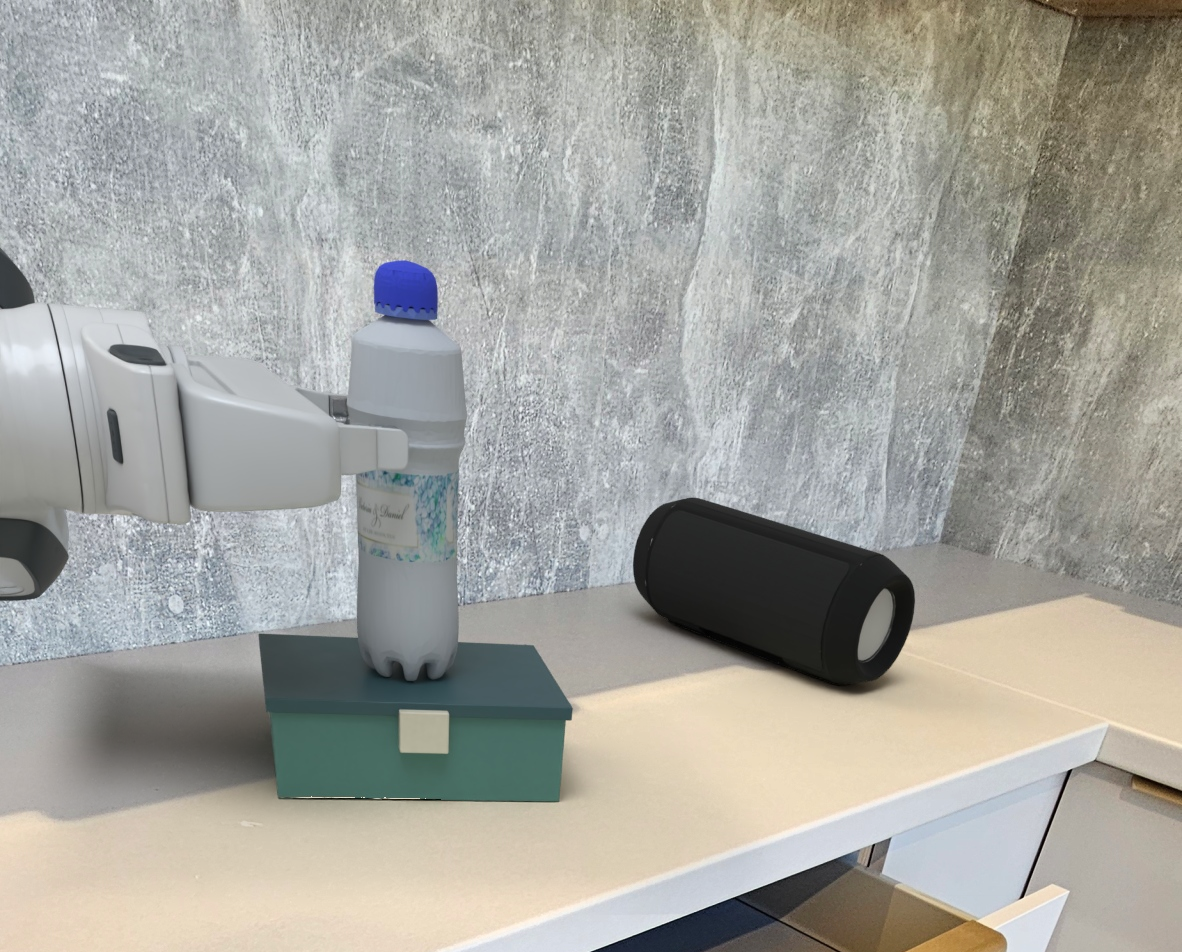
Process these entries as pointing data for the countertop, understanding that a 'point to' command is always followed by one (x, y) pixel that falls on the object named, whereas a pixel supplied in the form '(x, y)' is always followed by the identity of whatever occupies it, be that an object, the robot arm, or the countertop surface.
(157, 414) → the robot arm
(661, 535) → the portable speaker
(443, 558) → the bottle
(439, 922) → the countertop surface
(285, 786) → the lunchbox
